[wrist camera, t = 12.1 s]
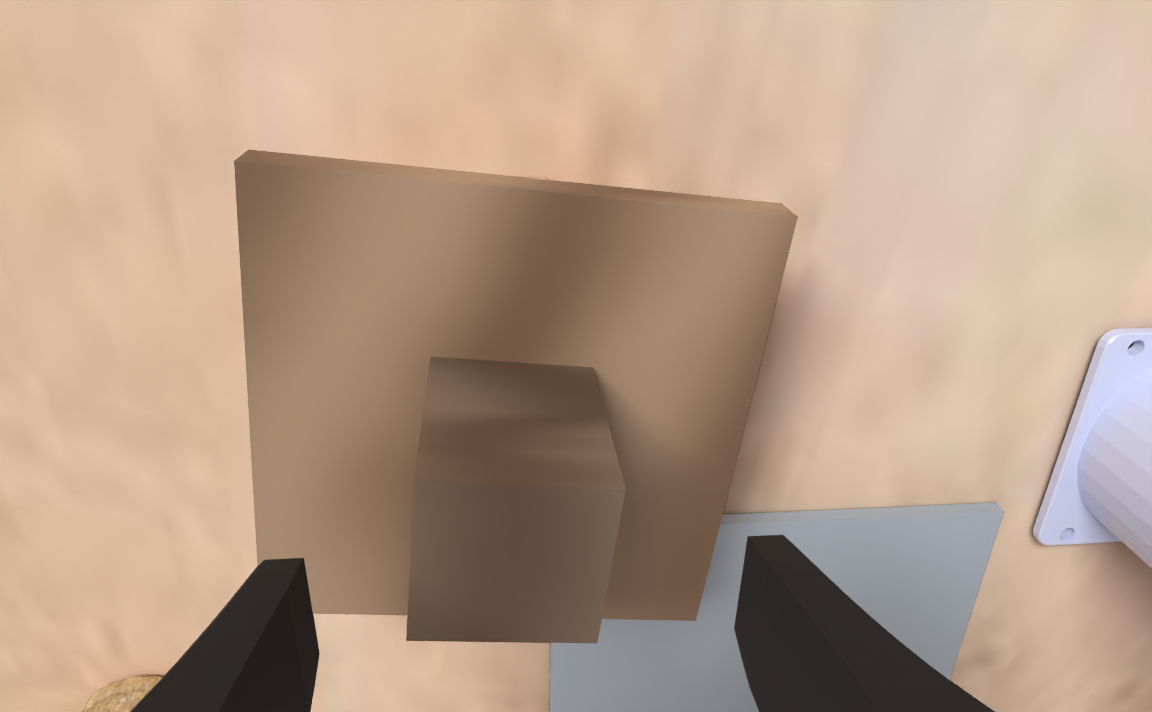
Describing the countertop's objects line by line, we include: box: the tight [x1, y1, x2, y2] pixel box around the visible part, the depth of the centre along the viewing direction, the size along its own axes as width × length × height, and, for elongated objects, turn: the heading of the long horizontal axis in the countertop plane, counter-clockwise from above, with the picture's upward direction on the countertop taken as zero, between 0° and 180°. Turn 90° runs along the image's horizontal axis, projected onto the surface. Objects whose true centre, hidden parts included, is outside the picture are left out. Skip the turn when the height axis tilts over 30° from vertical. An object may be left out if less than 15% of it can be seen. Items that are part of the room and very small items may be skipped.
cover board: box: [234, 150, 798, 643], centre depth 16 cm, size 11×11×6 cm
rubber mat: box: [549, 502, 1004, 712], centre depth 29 cm, size 15×15×1 cm
